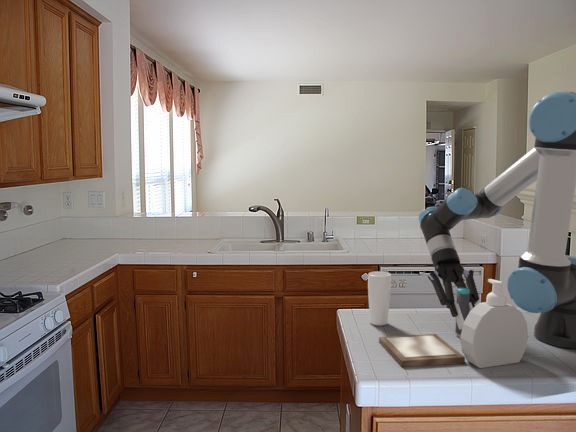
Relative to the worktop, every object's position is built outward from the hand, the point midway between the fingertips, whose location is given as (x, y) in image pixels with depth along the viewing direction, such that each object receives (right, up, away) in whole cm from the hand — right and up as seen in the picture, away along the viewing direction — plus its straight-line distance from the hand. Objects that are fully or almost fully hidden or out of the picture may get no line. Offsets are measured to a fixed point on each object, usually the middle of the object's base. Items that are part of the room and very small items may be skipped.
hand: (468, 326), depth 138 cm
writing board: (-15, -5, -7) cm, 17 cm away
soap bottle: (+1, -6, -13) cm, 14 cm away
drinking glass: (-22, -2, +15) cm, 26 cm away
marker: (-1, -4, +4) cm, 6 cm away
